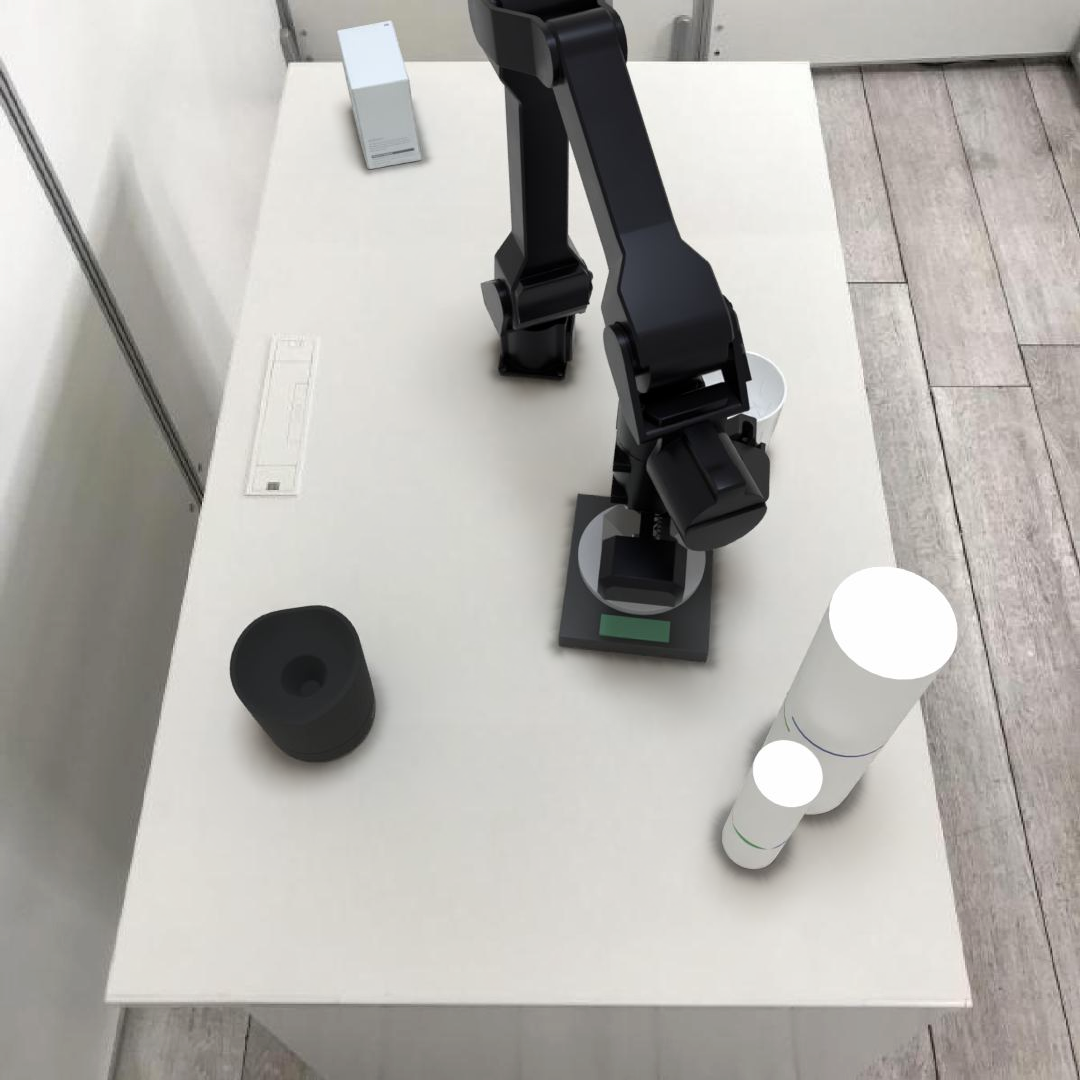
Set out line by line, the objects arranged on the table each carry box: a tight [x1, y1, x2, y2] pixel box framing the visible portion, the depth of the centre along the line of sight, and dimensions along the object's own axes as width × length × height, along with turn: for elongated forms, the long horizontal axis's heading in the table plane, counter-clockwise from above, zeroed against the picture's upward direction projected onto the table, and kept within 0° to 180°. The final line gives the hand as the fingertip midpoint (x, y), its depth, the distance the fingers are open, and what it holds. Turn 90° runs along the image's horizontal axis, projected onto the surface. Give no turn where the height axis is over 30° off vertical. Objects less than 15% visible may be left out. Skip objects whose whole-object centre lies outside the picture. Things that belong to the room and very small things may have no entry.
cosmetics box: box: [336, 19, 423, 170], centre depth 116 cm, size 10×6×10 cm, turn 14°
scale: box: [558, 493, 715, 663], centre depth 89 cm, size 12×14×3 cm
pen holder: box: [228, 604, 376, 763], centre depth 80 cm, size 9×9×10 cm
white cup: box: [702, 349, 788, 453], centre depth 93 cm, size 8×8×10 cm
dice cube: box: [601, 504, 688, 549], centre depth 86 cm, size 5×5×5 cm
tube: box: [721, 740, 823, 870], centre depth 73 cm, size 4×4×15 cm
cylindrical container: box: [761, 566, 958, 815], centre depth 71 cm, size 7×7×25 cm
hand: (642, 545), depth 88 cm, fingers closed on dice cube, 6 cm apart
